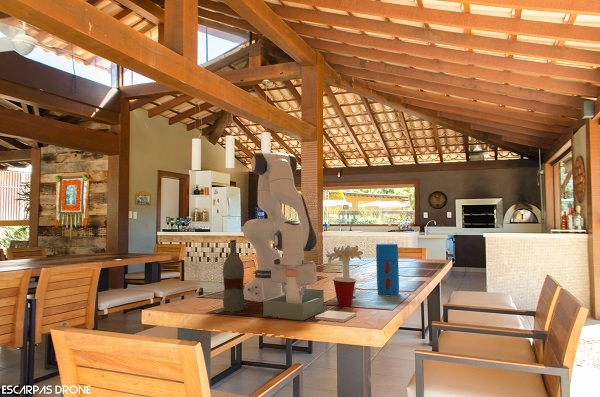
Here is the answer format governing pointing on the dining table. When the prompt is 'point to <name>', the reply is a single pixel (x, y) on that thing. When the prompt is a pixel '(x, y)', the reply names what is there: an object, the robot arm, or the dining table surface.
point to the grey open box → (295, 305)
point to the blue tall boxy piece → (387, 269)
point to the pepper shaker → (293, 287)
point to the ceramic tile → (335, 316)
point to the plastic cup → (344, 290)
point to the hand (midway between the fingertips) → (294, 294)
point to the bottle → (233, 281)
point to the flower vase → (345, 258)
